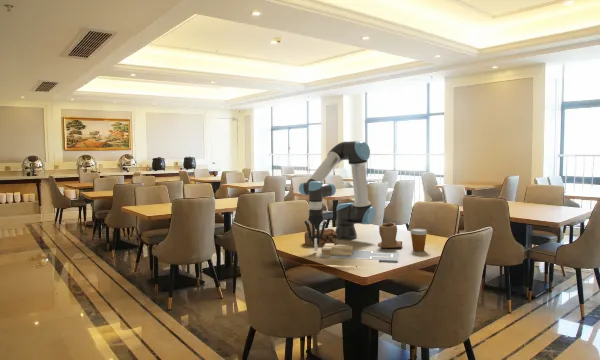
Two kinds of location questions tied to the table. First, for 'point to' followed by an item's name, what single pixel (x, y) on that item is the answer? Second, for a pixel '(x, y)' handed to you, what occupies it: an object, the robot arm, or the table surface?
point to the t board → (369, 255)
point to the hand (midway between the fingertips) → (316, 250)
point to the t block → (336, 250)
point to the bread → (328, 237)
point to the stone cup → (389, 236)
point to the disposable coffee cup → (418, 239)
